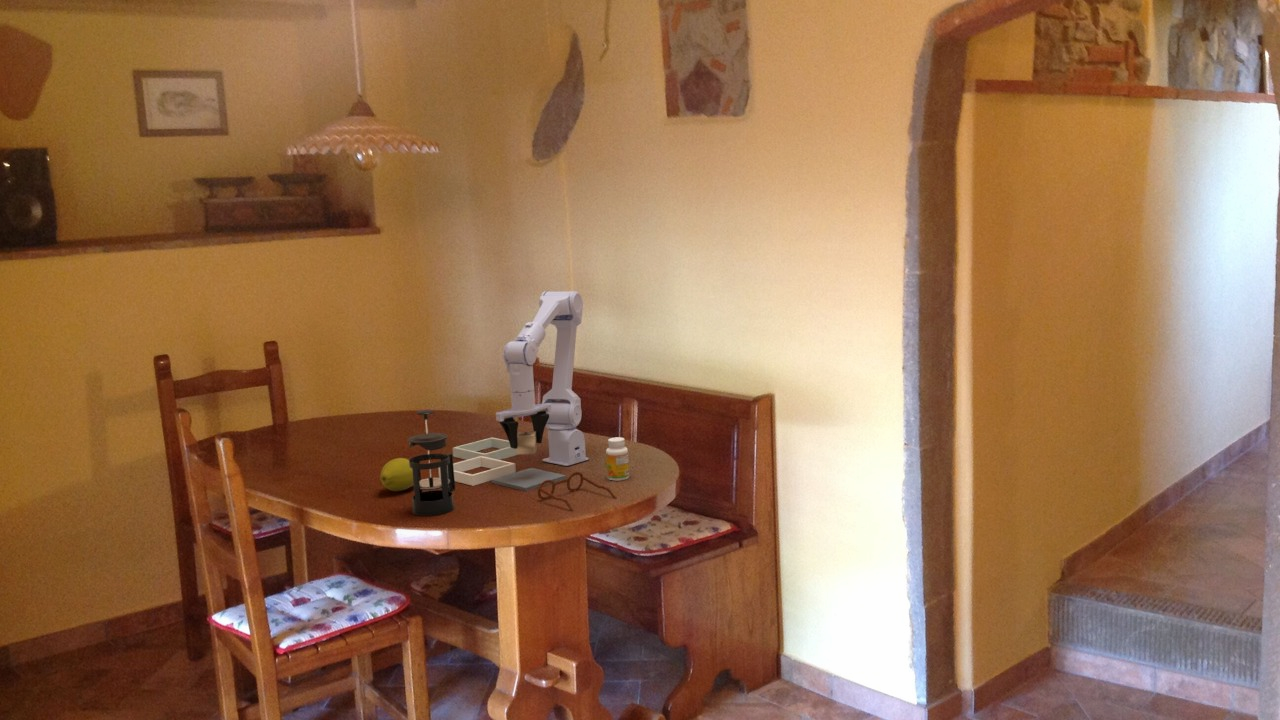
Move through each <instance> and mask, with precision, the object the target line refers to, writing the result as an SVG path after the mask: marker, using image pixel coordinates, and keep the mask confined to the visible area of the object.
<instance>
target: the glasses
mask: <svg viewBox="0 0 1280 720" xmlns="http://www.w3.org/2000/svg"><path fill="white" fill-rule="evenodd" d="M577 475H579V477H580V481H579V484H578V485H577V486H576V487H575V488H571V485H570V481H571V480H572V478H573V477H574V476H577ZM584 481H585V482H587V483H589V484H591V485H592V486H594V487H596V488H597V489H603V490H605V491H607V492H608V493H609V495H610V496H611V497H612V498H613V499H618V497H617V496H616V495H615V493H614V492H612V490H611V489H610V488H609V487H607V486H605V485H600V484H598V483H596V482H594V481H593V480H591V479H589V478H588V477H585V476H584V475H583V473H581V472H579V471H575V472H573V473H571V474H570V475H569V476H568V477H567V478H566V479H563V480H560V481H557V482H553V481H552V480H545V481H543V482H542V483H541V484H540V486H539V487H538V488H537V497H538V498H539V499H540V500H542V501H543V500H547V498H548V499H550V498H551V499H553V500H555V501H562V502H564V503H565V504H566V506H567V507H568V509H569V511H571V512H575V509H574V508H573V507H572V506H571V504H570V502H569V501H568V500H567V499H565V498H563V497H557V496H556V495H554V493H555V489H556V486H557V485H561V484H563V483H566V488H567V490H568V491H570V492H575V490H576V491H578V490H580V489H581V487H582V486H583V483H584ZM546 483H551V484H550V485H552V486H551V491H550V492H549V491H547V490H546V489H545V488H543V487H544V486H545V485H544V484H546ZM543 485H544V486H543ZM541 492H542V493H544V494H545V495H546V496H542V495H541Z"/></svg>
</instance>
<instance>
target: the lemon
mask: <svg viewBox="0 0 1280 720" xmlns="http://www.w3.org/2000/svg"><path fill="white" fill-rule="evenodd" d="M379 479H380V481H381V484H382V485H383V487H384V488H386V489H387V490H389V491H392V492H396V493H397V492H402V491H406V490H408V489H409V488H410V487H413V485H412V484H413V483H414V482H413V471H412V468H410V466H409V459H408V458H404V457H397V458H393V459H391V460H389V461H388V462H386V463H385V464H384V465H383V467H382V468H381V470H380V474H379Z"/></svg>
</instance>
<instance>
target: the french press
mask: <svg viewBox="0 0 1280 720" xmlns="http://www.w3.org/2000/svg"><path fill="white" fill-rule="evenodd" d="M434 413H436V412H435V410H432V409H421V410H418V411H416V412H415V414H416V415H418V416H419V415H421V416H423V417H422V418H423V420H425V422H424V423H425V433H420V434H419V433H418V434H416V435H412V436H409V437H408V438H407V440H406V441H407V443H409V444H408V445H409V448H413V447H414V446H417V445H418V446H420V447H421V448H423V449H424V450H426V451H427V453H425V454H420V455H416V456H413V457H410V458H409V459H408V460H409V466H410V468H412V471H413V482H414V483H413V484H412V487H413V489H414V490H413V492H414V494H413V496H412V498H411V500H412V501H411V502H412V514H413V515H415V516H420V517H436V516H441V515H445V514H448V513H451V512H453V511H454V510H455V505H454V499H453V493H452V492H454V491H456V483H455V482H456V481H455V480H454V467H453V464H454V459H453V458H454V457H453V453H449V452H445V453H430V451H431V452H432V451H437V450H441V449H443V448H446V447H447V439H448V438H449V437H448V434H447V433H442V432H429V429H428V418H429V415H431V414H434ZM432 460H440V461H436V462H431V461H432ZM422 461H428V463H427V462H426V463H421V462H422ZM438 468H440V473H441V478H440V477H432V470H434V469H438ZM447 468H448V471H447ZM422 470H428V471H429V477H427V478H423V479H422V476H421V474H422V473H421V471H422ZM440 489H441V490H440Z"/></svg>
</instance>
